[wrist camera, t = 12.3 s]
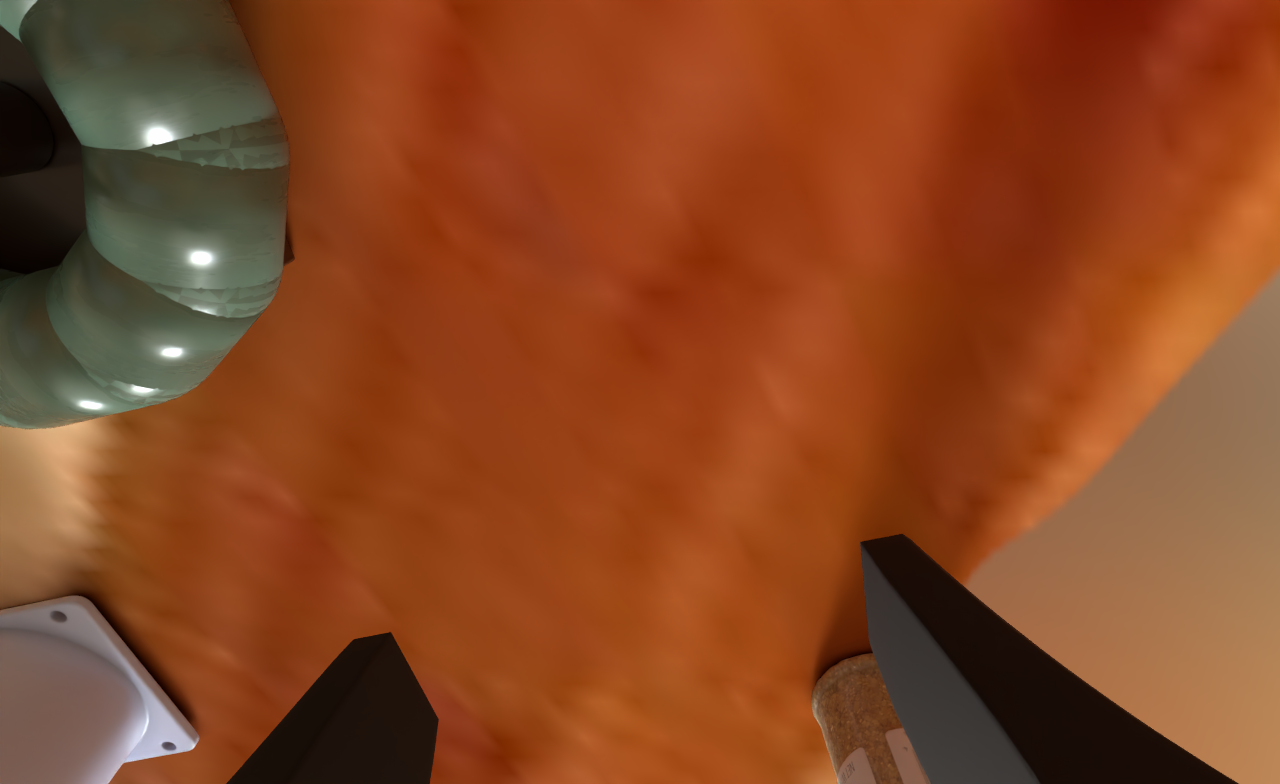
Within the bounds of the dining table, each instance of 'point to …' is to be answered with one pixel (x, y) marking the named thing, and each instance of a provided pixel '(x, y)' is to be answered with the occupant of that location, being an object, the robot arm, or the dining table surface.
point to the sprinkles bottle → (863, 726)
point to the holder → (38, 169)
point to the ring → (146, 208)
